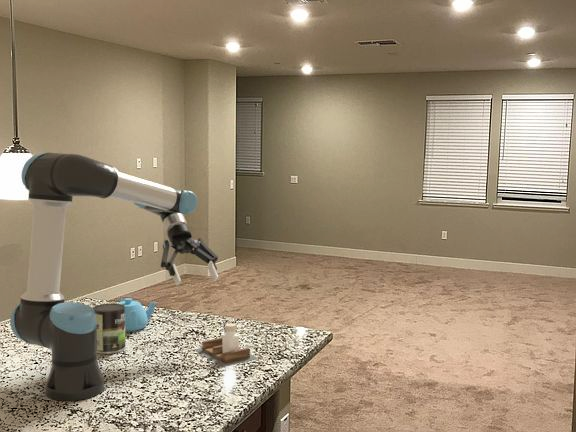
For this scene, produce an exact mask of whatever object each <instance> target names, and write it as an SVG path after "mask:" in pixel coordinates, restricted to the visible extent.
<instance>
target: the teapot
mask: <svg viewBox="0 0 576 432" xmlns="http://www.w3.org/2000/svg"><path fill="white" fill-rule="evenodd" d="M116 304H122V305H124V306H125V333H130V332H137V331H141V330H143V329H144V328H145V327H146V326H147V325H148V323H149V321H150V320H151V317H152V315H153V313H154V311H155V308H156V306H157V302H156V301H155V302H154V301H153V302H152V301H151V302H150V304H149V306H148V307H147V309H146V310H145V308H144V306H143V305H142V304H141V302H140V301H137V300H133V298H131V297H127V298H120V301H119V302H117V303H116Z"/></svg>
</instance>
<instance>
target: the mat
mask: <svg viewBox="0 0 576 432" xmlns="http://www.w3.org/2000/svg"><path fill="white" fill-rule="evenodd" d="M239 349H241V348H240V347H239ZM194 351H195V352H196V353H198V354H200V355H202V356H203V357H206V358H207V359H209V360H210V361H212V362H214V363H216V364H217V365H219V366H221V367H223V368H225V367H230V366H233V365H234V366H235V365H238V364H241V363H242V364H243V363H248V362H251V361H255V360H259V357H257V356H255V355H253V354H251V353H250V358H247V359H242V360H238V361H234V362H230V363H226V364H225V363H224V362H222V361H220V360H218V359H217V358H215V357H213V356H211V355H209V354H208V353H206V352H204V351H202V347H200V348H196V349H195V348H194Z"/></svg>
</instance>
